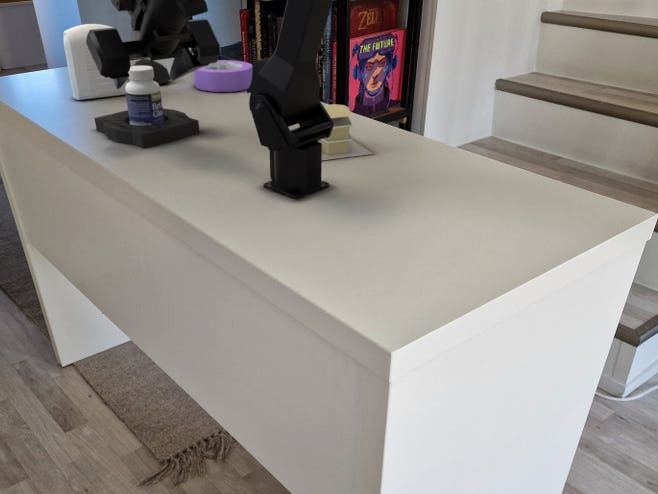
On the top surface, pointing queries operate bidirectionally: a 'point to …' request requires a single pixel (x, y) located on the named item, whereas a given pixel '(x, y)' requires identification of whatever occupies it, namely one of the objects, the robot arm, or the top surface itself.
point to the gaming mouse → (155, 70)
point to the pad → (147, 128)
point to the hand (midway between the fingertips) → (144, 82)
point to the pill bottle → (143, 97)
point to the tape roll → (224, 76)
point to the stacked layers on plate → (340, 135)
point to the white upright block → (86, 66)
